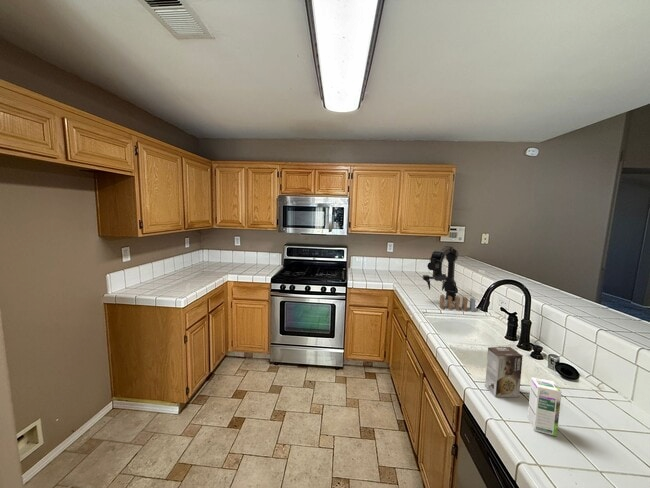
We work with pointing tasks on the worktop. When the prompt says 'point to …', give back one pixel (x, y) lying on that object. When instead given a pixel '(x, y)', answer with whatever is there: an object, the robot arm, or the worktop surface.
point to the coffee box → (503, 371)
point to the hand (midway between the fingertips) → (436, 290)
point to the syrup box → (544, 406)
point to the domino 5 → (472, 304)
